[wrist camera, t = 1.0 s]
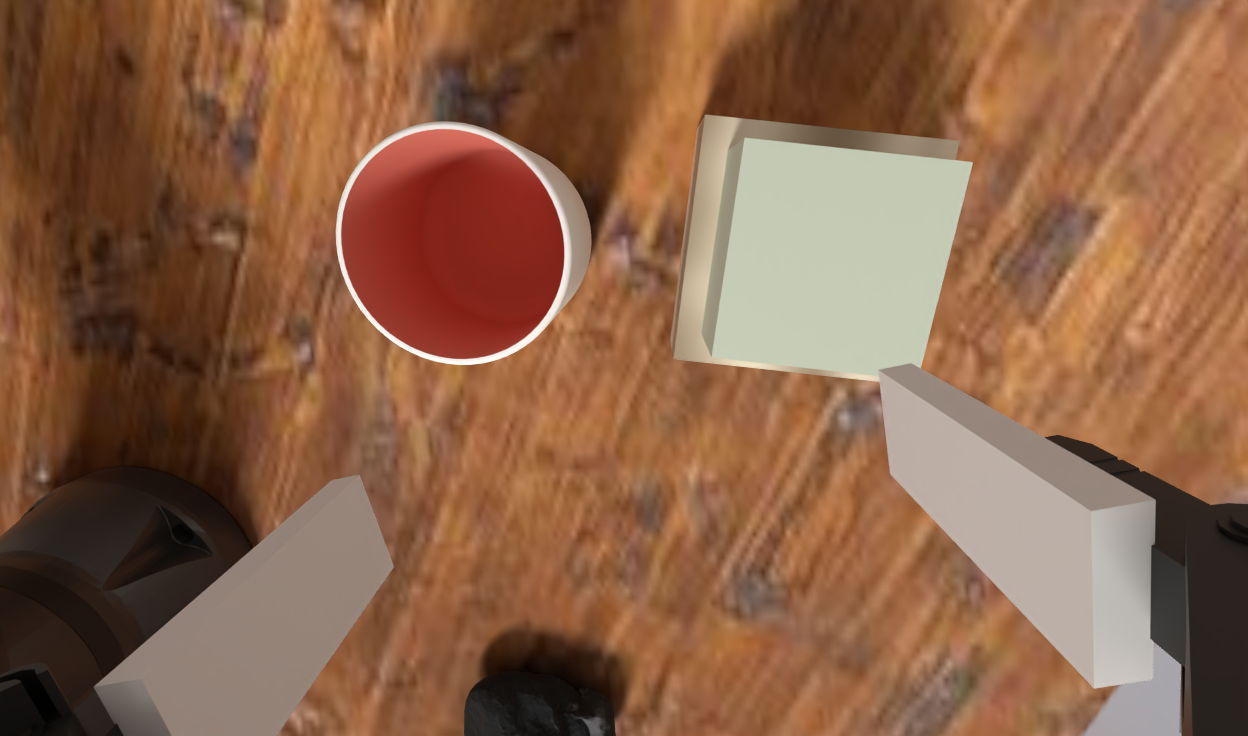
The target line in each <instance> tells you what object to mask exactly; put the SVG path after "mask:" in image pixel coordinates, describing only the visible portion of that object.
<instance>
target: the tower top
mask: <svg viewBox="0 0 1248 736" xmlns="http://www.w3.org/2000/svg"><path fill="white" fill-rule="evenodd" d="M972 164H973V162H966V161H957V160H948V159H938V158H929V157H920V156H910V155H901V154H892V153H883V152H873V151H864V150H855V149H845V148H836V147H827V146H817V145H808V144H799V143H789V142H780V141H771V140H762V139H752V138H744V139H742V140H741V141H740V142H738V143H737V144H736V145H734V146H733V147H732V148H731V149H729V150H728V152H727V159H726V166H725V173H724V180H723V187H722V194H721V201H720V208H719V214H718V221H717V228H716V235H715V242H714V249H713V256H712V263H711V270H710V277H709V284H708V291H707V298H706V305H705V311H704V318H703V325H702V332H701V334H702V337H703V339H704V341H705V344H706V346H707V348H708V351H709V353H710V355H711V357H712V358H721V359H730V360H739V361H748V362H757V363H766V364H775V365H783V366H792V367H801V368H810V369H819V370H828V371H837V372H846V373H855V374H864V375H873V376H879V372H878V370H880V369H885V368H890V367H895V366H900V365H904V364H909V363H912V364H914V365H915V366H917V367H919V368H921V365H922V362H923V358H924V354H925V350H926V346H927V342H928V338H929V334H930V330H931V326H932V322H933V318H934V314H935V310H936V306H937V302H938V298H939V294H940V290H941V287H942V283H943V279H944V275H945V271H946V267H947V263H948V259H949V255H950V251H951V247H952V243H953V239H954V235H955V231H956V227H957V223H958V219H959V215H960V212H961V208H962V204H963V200H964V196H965V192H966V188H967V184H968V180H969V176H970V172H971V168H972Z"/></svg>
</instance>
